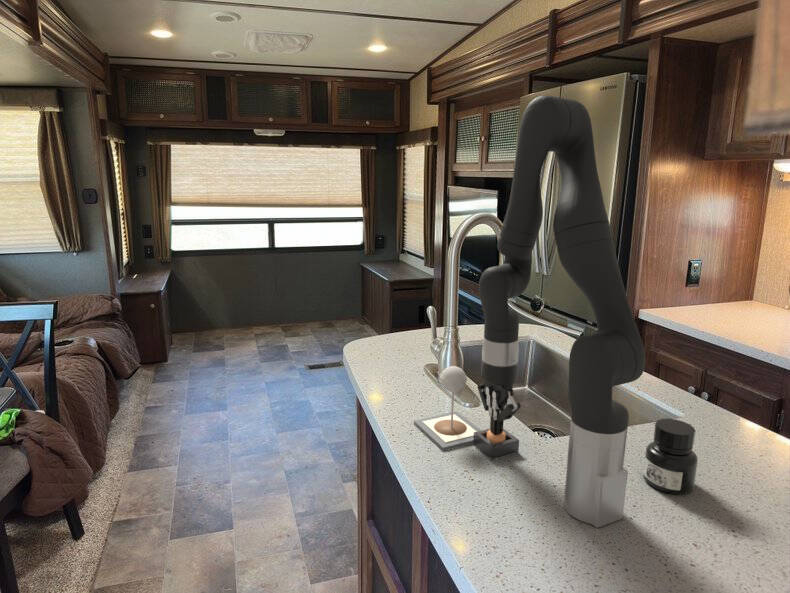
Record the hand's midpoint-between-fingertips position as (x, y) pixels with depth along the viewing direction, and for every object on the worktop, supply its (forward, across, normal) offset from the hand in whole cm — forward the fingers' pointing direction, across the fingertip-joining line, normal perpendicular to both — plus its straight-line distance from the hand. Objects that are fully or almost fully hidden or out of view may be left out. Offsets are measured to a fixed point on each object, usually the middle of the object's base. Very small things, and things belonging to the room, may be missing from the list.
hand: (496, 433), depth 117 cm
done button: (+3, 0, 0) cm, 3 cm away
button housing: (+4, 0, 0) cm, 4 cm away
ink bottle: (+4, -25, -23) cm, 34 cm away
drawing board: (+4, +11, +5) cm, 13 cm away
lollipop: (+3, +10, +5) cm, 12 cm away
